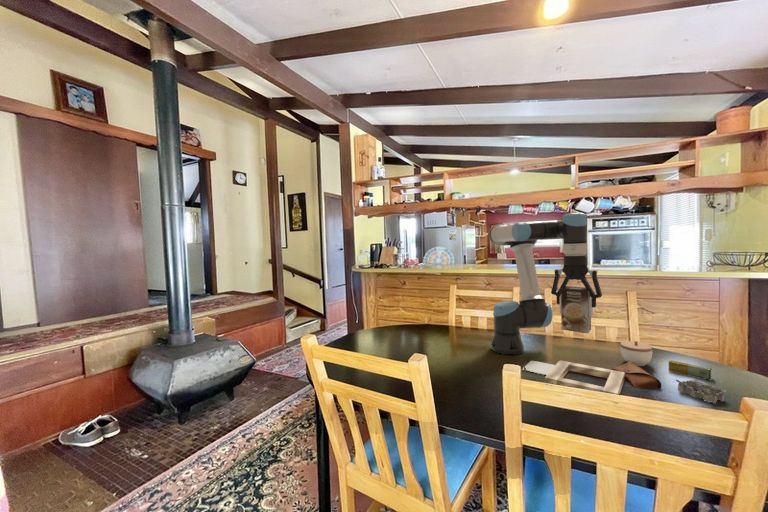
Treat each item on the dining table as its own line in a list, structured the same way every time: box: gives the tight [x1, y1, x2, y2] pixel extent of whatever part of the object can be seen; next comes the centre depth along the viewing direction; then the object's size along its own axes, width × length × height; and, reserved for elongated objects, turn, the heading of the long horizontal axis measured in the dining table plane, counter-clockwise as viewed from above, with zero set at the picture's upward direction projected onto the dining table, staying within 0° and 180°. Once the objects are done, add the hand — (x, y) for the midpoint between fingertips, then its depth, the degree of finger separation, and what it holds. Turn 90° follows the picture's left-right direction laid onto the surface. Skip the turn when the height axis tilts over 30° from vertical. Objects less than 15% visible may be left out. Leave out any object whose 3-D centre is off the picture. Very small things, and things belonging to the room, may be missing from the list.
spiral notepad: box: [521, 360, 556, 376], centre depth 134 cm, size 10×12×1 cm
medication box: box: [668, 359, 713, 380], centre depth 122 cm, size 12×3×4 cm, turn 35°
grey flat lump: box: [675, 379, 727, 403], centre depth 106 cm, size 11×8×4 cm
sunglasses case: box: [611, 361, 662, 389], centre depth 121 cm, size 18×7×7 cm, turn 171°
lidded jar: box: [619, 340, 654, 367], centre depth 134 cm, size 11×11×9 cm
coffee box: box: [560, 285, 592, 334], centre depth 121 cm, size 9×6×16 cm
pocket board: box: [544, 360, 626, 395], centre depth 120 cm, size 22×21×2 cm
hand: (575, 314), depth 121 cm, fingers closed on coffee box, 9 cm apart
